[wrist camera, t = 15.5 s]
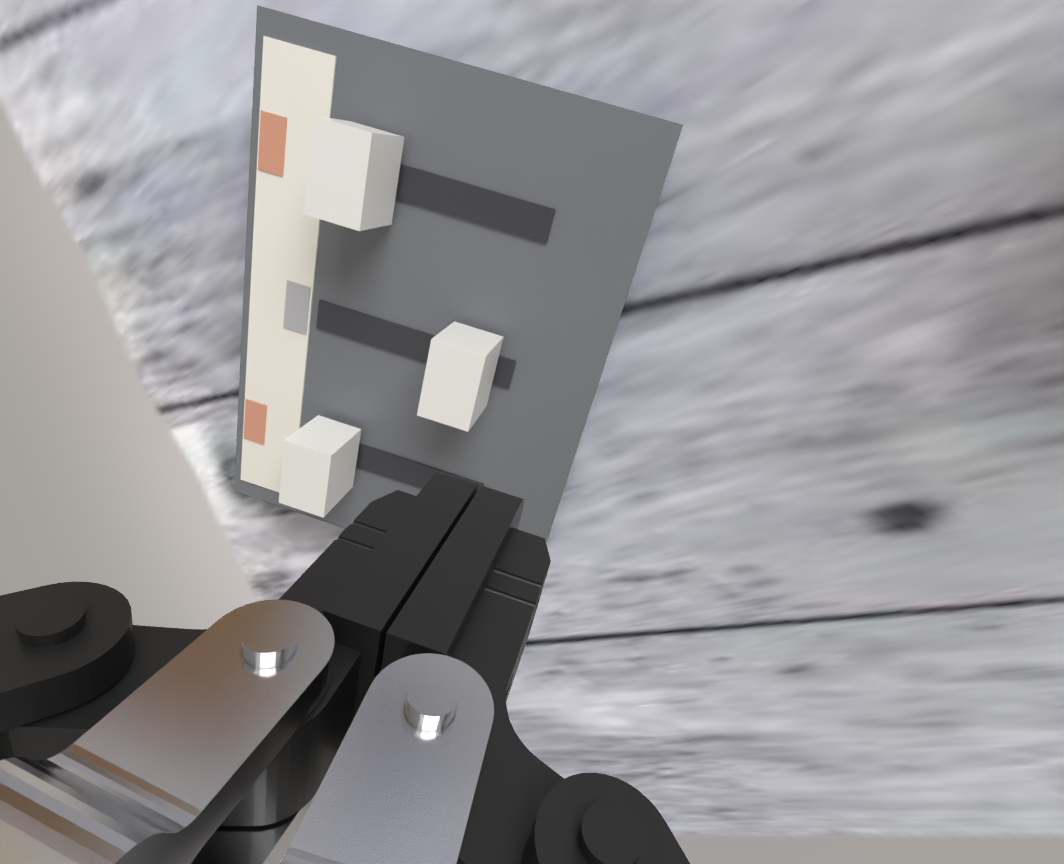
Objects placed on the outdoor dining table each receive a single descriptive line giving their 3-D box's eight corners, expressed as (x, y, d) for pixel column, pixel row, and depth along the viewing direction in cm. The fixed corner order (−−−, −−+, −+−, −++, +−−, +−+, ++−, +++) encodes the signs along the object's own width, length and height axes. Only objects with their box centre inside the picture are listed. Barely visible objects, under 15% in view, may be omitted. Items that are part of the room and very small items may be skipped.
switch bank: (679, 130, 27) (683, 124, 24) (542, 550, 38) (529, 592, 34) (308, 26, 28) (254, 4, 25) (273, 461, 39) (232, 492, 35)
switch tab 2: (361, 429, 31) (331, 455, 28) (352, 487, 33) (323, 517, 30) (318, 415, 31) (283, 440, 29) (311, 473, 33) (278, 502, 30)
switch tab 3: (503, 336, 28) (485, 356, 25) (486, 406, 29) (468, 431, 27) (454, 321, 28) (431, 338, 25) (440, 391, 30) (416, 415, 27)
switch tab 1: (404, 136, 25) (372, 132, 22) (391, 224, 27) (359, 231, 24) (350, 121, 25) (311, 115, 23) (340, 209, 27) (303, 214, 24)
